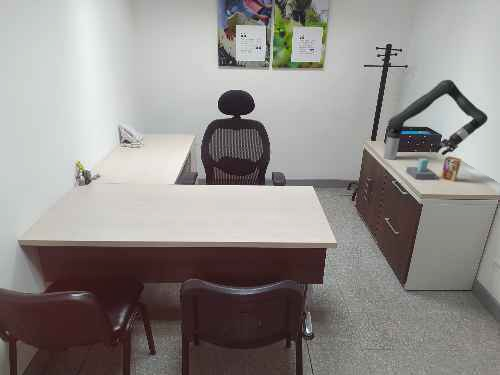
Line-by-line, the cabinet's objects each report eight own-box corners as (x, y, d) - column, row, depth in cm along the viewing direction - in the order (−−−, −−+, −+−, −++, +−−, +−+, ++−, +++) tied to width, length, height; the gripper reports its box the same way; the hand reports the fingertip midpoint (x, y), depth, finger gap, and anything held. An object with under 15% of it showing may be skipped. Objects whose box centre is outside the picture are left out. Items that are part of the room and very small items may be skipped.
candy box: (456, 180, 248) (462, 159, 242) (453, 181, 245) (459, 160, 239) (443, 176, 254) (448, 155, 248) (440, 177, 251) (445, 156, 245)
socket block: (405, 172, 260) (407, 166, 258) (424, 172, 261) (425, 167, 259) (415, 179, 247) (416, 173, 245) (435, 179, 248) (436, 173, 246)
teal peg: (416, 173, 255) (419, 158, 251) (422, 173, 256) (425, 158, 251) (419, 175, 251) (422, 160, 247) (425, 175, 252) (428, 160, 247)
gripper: (450, 130, 249) (430, 145, 253) (462, 135, 236) (441, 151, 240) (455, 137, 252) (436, 153, 255) (468, 143, 239) (447, 159, 242)
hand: (438, 152), depth 248 cm, fingers open, 8 cm apart
